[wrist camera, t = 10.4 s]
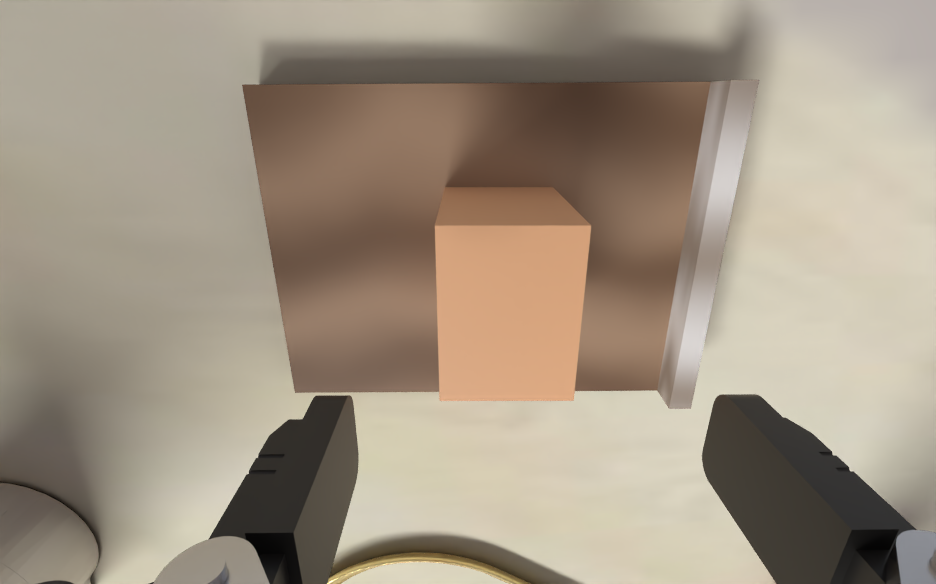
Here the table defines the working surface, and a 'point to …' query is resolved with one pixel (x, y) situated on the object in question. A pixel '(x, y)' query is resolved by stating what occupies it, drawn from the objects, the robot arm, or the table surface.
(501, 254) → the carton
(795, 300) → the table surface
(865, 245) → the table surface
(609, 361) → the shelf board
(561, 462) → the table surface
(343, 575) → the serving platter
